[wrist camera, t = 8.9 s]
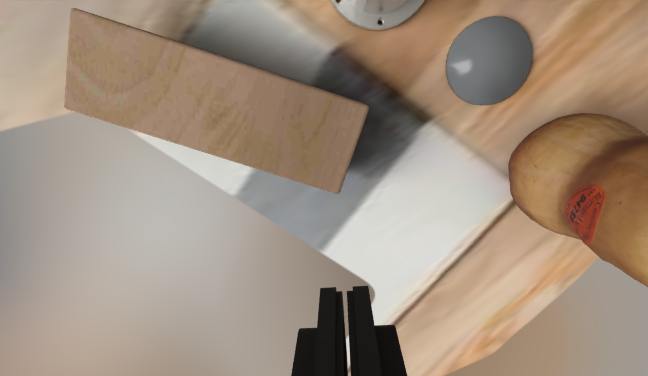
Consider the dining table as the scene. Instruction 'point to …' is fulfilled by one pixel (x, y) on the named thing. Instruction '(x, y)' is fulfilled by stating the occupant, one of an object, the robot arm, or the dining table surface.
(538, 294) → the dining table surface
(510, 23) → the grey dome
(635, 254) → the butternut squash
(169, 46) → the decorative block
